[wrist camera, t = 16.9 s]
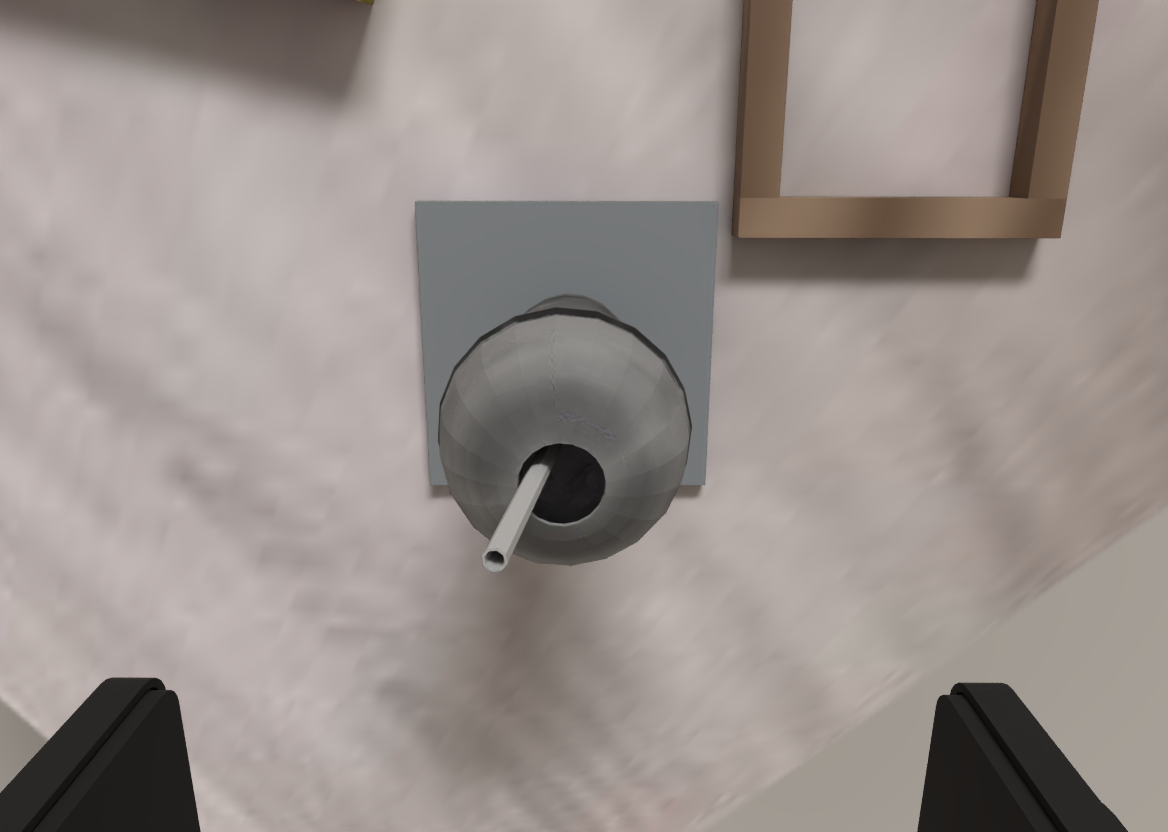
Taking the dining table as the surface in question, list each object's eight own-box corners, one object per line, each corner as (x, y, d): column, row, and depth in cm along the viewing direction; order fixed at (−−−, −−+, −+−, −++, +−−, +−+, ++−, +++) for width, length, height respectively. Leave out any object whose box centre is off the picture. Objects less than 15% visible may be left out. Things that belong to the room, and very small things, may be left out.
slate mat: (716, 201, 34) (718, 202, 33) (703, 480, 37) (705, 485, 37) (417, 200, 34) (414, 201, 33) (432, 480, 37) (430, 485, 37)
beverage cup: (631, 448, 36) (686, 770, 17) (465, 407, 36) (333, 694, 17) (678, 284, 34) (801, 443, 15) (503, 238, 34) (402, 344, 15)
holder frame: (1094, -117, 31) (1120, -131, 29) (1040, 235, 34) (1060, 238, 33) (749, -119, 31) (758, -133, 29) (731, 234, 34) (738, 237, 33)
